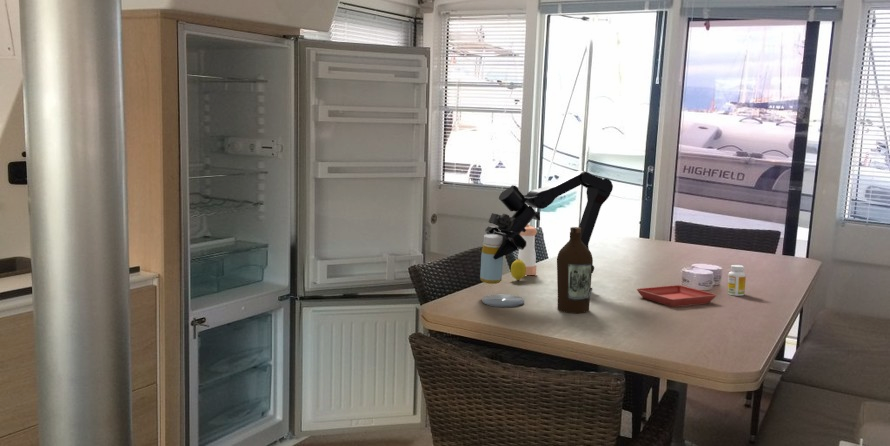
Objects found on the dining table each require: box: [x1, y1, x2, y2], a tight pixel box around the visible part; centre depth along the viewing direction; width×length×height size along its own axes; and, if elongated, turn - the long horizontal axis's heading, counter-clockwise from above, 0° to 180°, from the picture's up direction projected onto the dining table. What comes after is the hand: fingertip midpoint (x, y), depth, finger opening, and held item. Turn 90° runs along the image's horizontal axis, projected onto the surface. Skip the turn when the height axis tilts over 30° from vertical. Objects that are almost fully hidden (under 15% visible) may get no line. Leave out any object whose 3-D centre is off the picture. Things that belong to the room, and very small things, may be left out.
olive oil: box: [556, 226, 594, 314], centre depth 227 cm, size 11×11×25 cm
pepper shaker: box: [517, 223, 538, 276], centre depth 285 cm, size 7×7×19 cm
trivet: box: [482, 293, 525, 308], centre depth 237 cm, size 13×13×1 cm
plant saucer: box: [636, 284, 717, 308], centre depth 243 cm, size 18×18×3 cm
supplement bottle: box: [727, 264, 747, 297], centre depth 253 cm, size 5×5×10 cm
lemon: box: [510, 258, 526, 281], centre depth 273 cm, size 6×6×8 cm
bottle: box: [479, 233, 504, 285], centre depth 244 cm, size 7×7×15 cm
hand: (488, 256), depth 243 cm, fingers closed on bottle, 7 cm apart
